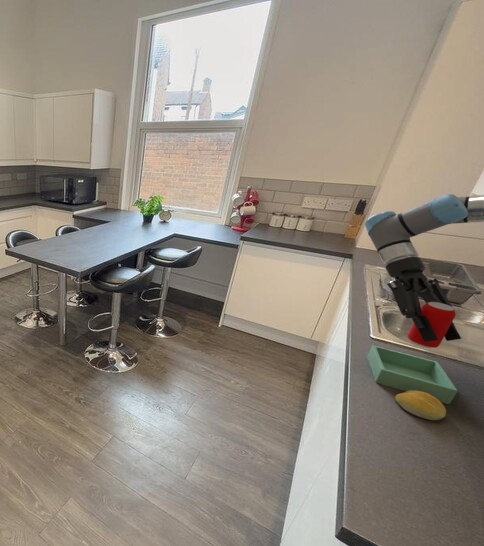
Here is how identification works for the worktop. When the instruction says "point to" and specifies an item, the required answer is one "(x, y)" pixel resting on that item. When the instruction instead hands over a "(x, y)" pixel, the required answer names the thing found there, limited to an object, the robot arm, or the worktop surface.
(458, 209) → the robot arm
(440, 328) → the beverage can
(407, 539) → the worktop surface
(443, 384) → the bin
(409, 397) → the bread roll
